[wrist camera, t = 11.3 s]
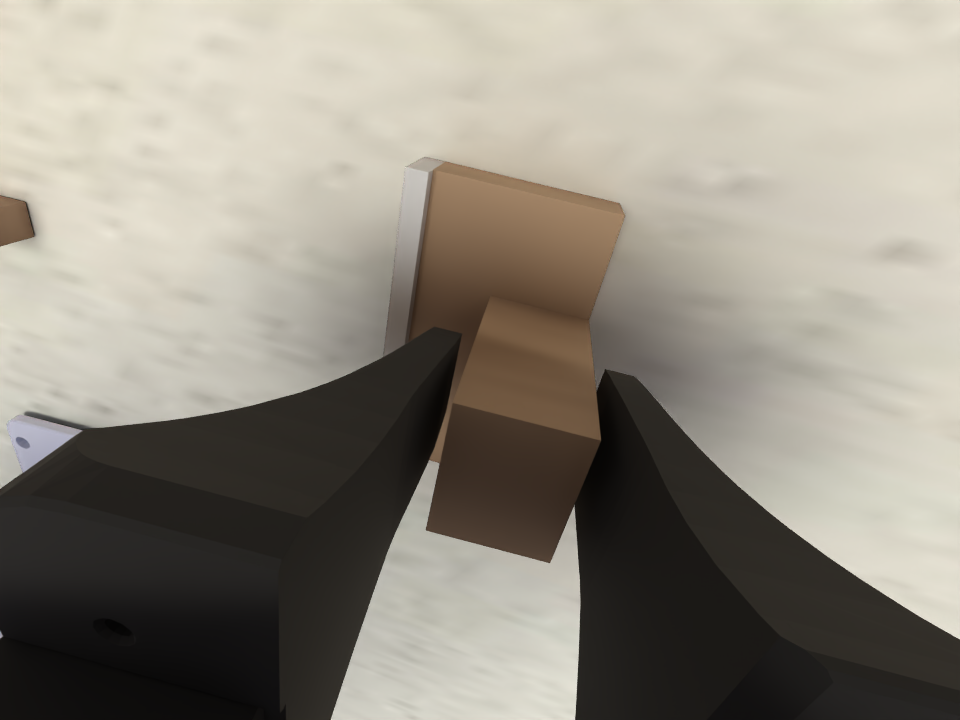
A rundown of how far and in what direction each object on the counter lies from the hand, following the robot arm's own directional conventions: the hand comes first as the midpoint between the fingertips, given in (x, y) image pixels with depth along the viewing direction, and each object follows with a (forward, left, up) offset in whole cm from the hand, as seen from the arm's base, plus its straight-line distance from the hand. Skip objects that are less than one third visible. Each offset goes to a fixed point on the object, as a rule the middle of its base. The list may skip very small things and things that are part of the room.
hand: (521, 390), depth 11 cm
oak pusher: (0, +1, -3) cm, 4 cm away
